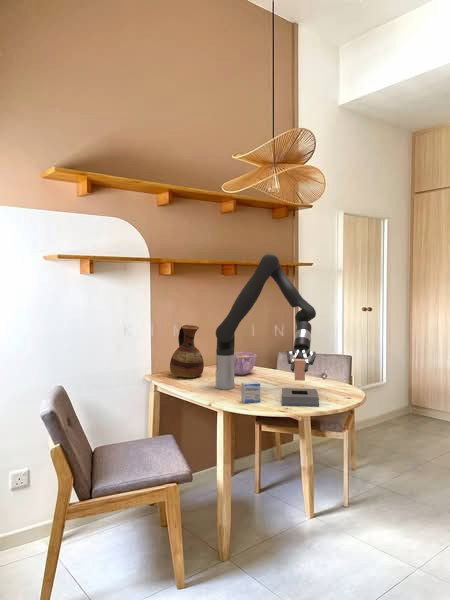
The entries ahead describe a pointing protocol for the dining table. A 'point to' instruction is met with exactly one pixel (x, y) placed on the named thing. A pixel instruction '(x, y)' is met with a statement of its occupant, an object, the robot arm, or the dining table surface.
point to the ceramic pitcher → (187, 354)
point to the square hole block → (299, 397)
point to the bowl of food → (243, 362)
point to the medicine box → (250, 392)
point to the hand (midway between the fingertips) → (299, 371)
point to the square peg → (299, 369)
